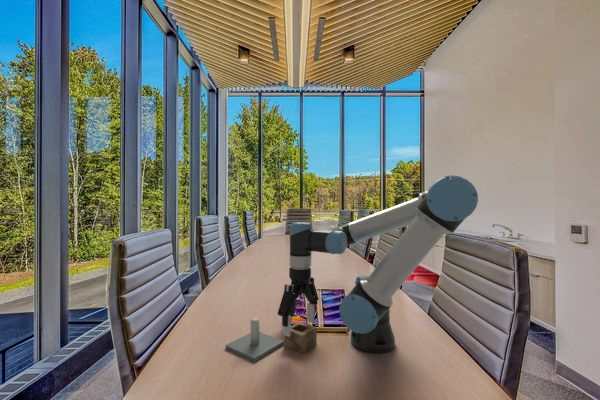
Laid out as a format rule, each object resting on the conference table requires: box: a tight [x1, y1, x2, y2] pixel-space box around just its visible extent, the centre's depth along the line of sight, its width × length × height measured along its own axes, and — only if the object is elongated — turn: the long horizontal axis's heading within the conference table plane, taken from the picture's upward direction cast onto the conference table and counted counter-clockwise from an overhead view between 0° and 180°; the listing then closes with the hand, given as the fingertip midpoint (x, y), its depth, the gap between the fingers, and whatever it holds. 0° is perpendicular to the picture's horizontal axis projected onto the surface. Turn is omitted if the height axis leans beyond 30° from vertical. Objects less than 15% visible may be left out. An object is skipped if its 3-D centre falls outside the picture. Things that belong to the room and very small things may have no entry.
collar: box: [283, 321, 318, 355], centre depth 102 cm, size 8×8×6 cm
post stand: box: [225, 317, 284, 363], centre depth 102 cm, size 14×14×9 cm
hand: (299, 328), depth 103 cm, fingers open, 13 cm apart
